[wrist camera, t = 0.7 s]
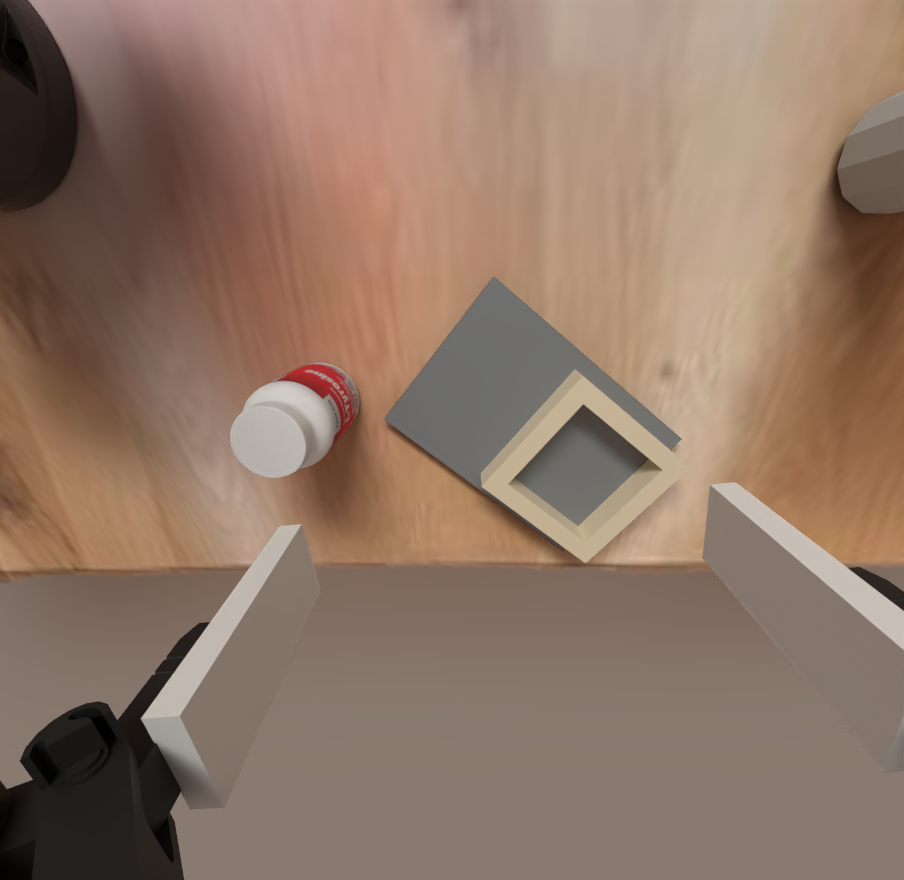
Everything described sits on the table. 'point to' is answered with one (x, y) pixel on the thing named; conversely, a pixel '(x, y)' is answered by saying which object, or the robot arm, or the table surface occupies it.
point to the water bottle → (875, 159)
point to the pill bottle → (294, 420)
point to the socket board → (538, 426)
